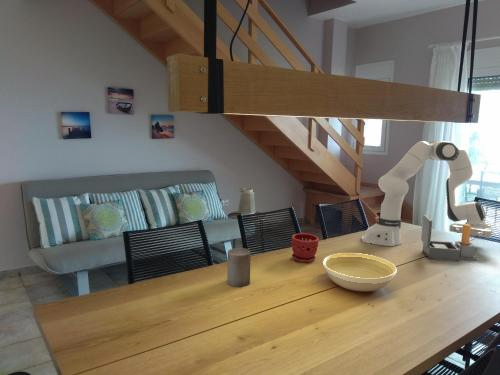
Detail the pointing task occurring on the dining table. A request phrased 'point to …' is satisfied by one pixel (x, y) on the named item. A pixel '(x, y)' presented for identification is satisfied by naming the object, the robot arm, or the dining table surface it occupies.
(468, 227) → the rod
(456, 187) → the robot arm
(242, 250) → the pillar candle
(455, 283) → the dining table surface
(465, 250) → the grey square holder
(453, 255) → the equipment case
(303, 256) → the plant pot
